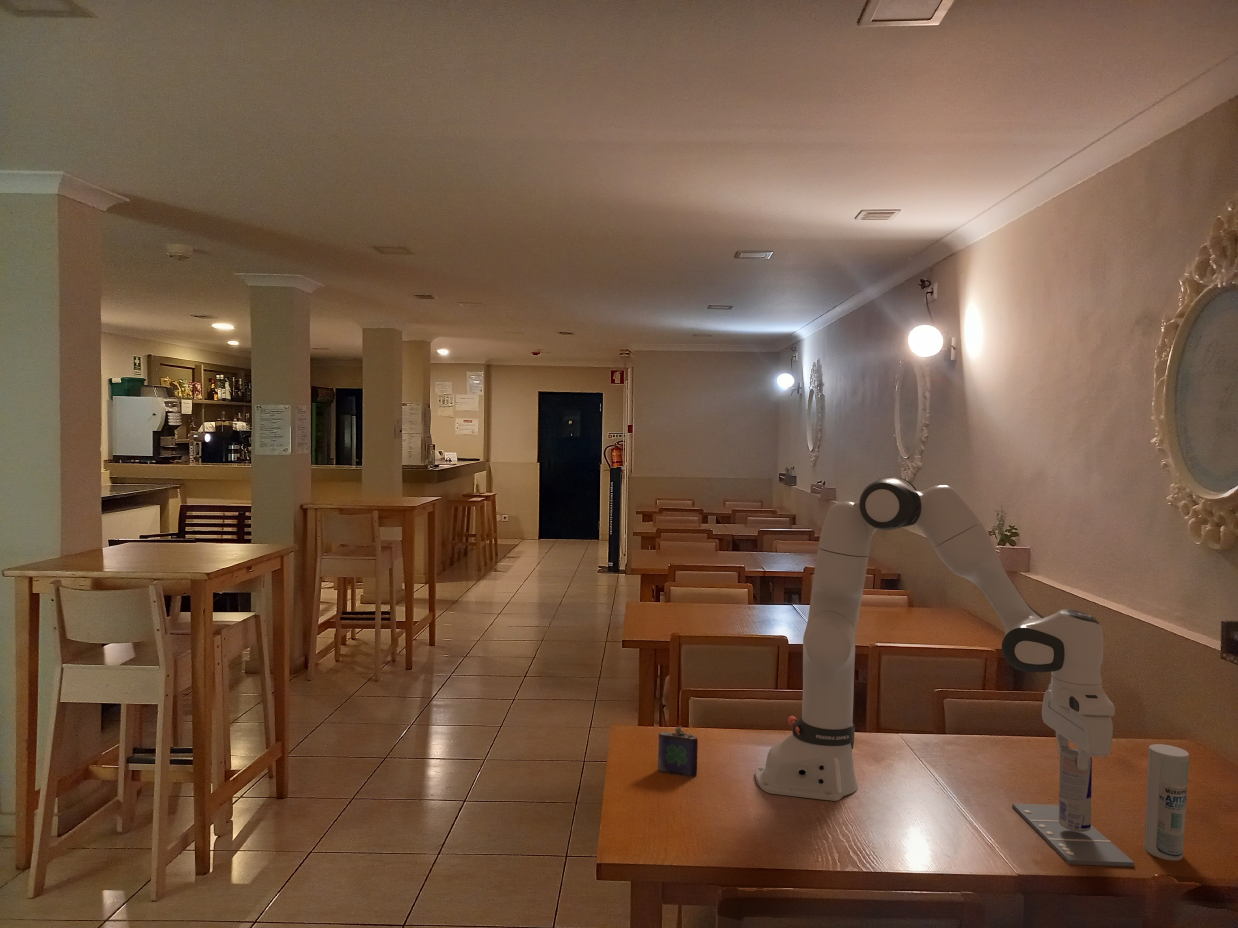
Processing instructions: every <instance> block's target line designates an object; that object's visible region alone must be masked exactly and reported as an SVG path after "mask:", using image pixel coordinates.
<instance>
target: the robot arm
mask: <svg viewBox="0 0 1238 928" xmlns="http://www.w3.org/2000/svg"><path fill="white" fill-rule="evenodd" d="M910 526H915V527H917V528H918V529H919V530H920V531H922V533H923V535H924V536H925V537H926V539H927V540H928V542H929V544H930V545H931V547H932V548H933V550H934V552H935V553H936V555H937V557H938V558H939V559H940V560H941V561H942V563H943V564H944V565H945V566H946V567H947V568H948V569H949V570H950V571H951V572H952V573H953V574H954V575H956V576H958V577H961V578H964V579H966V580H968V581H970V582H971V583H973V584H974V585H975V586H976V587H978V589H980V591H981V592H982V594H983V595H984V596H985V598H986V599H987V601H988V602H989V603H990V605H991V607H992V608H993V609H994V611H995V612H996V614H997V615H998V617H999V618H1000V621H1001V622H1002V624H1003V628H1004V636H1003V639H1002V642H1001V653H1002V655H1003V658H1004V659H1005V661H1006V662H1007V663H1008V664H1009V665H1010V666H1011V667H1013V668H1014V669H1016V670H1018V671H1020V672H1024V673H1051V681H1050V683H1049V684H1048V687H1047V688H1048V689H1047V690H1045V691H1044V694H1043V700H1042V701H1043V702H1042V708H1041V717H1042V722H1043V723H1044V724H1045V725H1046V726H1048V727H1049V728H1051V729H1052V730H1054V731H1055V738H1056V742H1057V745H1058V747H1057V748H1058V749H1057V752H1058V754H1059V755H1060V753H1061V752H1060V750H1061V749H1062V748H1071V747H1070V744H1069V743H1072V744H1073V745H1075V746H1076V748H1077V749H1078V752H1079V755H1078V758H1075V766H1076V767H1077V768H1079V769H1080V770H1086V769H1087V768H1088V761H1089V759H1090V757H1091V756H1092V757H1100V758H1102V757H1103V758H1104V757H1108V756H1109V754H1110V753H1111V751H1112V745H1113V733H1114V732H1113V720H1112V717H1113V716H1115V714H1116V706H1115V704H1114V703H1113V702H1112V700H1110V698H1109V697H1108V695H1107V694H1106V692H1105V690H1104V689H1103V688H1102V686H1103V679H1102V675H1101V667H1102V664H1103V661H1104V633H1103V628H1102V625H1101V623H1100V622H1099V621H1098V620H1097V619H1096V618H1095V617H1094V616H1092V615H1090V614H1088V613H1085V612H1083V611H1082V612H1081V611H1080V610H1074V609H1067V608H1065V609H1060V610H1058V611H1057V612H1056V613H1053V614H1051V615H1048V616H1043V615H1042V614H1040V613H1039V612H1038V611H1036V610H1035V609H1033V608H1032V607H1031V606H1030V605H1029V604H1028V602H1027V601H1026V600H1025V598H1024V597H1023V595H1022V594H1021V592H1020V591H1019V590H1018V588H1017V586H1016V585H1015V583H1014V582H1013V580H1012V579H1011V578H1010V576H1009V575H1008V573H1007V572H1006V570H1005V568H1004V566H1003V564H1002V560H1001V559H1000V556H999V554H998V551H997V549H996V546H995V544H994V542H993V540H992V538H991V535H990V534H989V532H988V531H987V529H986V527H985V526H984V524H983V522H982V521H981V519H980V518H979V516H978V515H977V513H976V512H975V511H974V510H973V508H972V506H970V505H969V503H968V502H967V501H966V499H964V498H963V497H962V495H961V494H959V492H958V491H957V490H956V489H955V488H954V487H952V486H951V485H946V484H940V485H939V484H938V485H934V486H931V487H929V488H926V489H925V490H921V491H919V490H917V488H916V487H915V486H914V485H913V484H912V483H911V482H910V481H909V480H906V479H904V478H901V477H894V476H893V477H892V476H887V477H882V478H879V479H877V480H875V481H873V482H871V483H870V484H868V485H867V486H866V487H865V488H864V490H863V491H862V492H861V494H860V497H859V501H847V500H846V501H839V502H836V503H834V504H832V505H831V506H830V507H829V508H828V510H827V513H826V515H825V517H824V521H823V525H822V529H821V531H820V535H819V540H818V545H817V546H818V547H817V552H816V553H817V554H816V560H815V566H814V572H813V579H812V587H811V594H810V602H809V610H808V616H807V621H806V622H807V623H806V627H805V629H804V633H803V637H802V702H801V703H802V704H801V705H802V707H801V709H802V710H801V717H800V718H798V719H797V718H796V716H794V715H790V716H789V717H788V718H787V722H788V724H789V726H790V727H791V728H792V732H791V733H792V734H790V735H788V736H787V737H785V738H784V739H782V740H781V741H779V742H777V743H776V744H775V745H773V746H771V748H770V749H769V750H768V753H767V756H766V761H765V764H762V765H759V766H758V767H757V768H756V769H755V776H754V777H755V778H754V779H755V781H756V783H757V785H758V786H759V788H761V789H762V790H763V791H764V792H766V793H768V794H771V795H780V796H788V797H797V798H798V797H799V798H806V799H807V798H808V799H815V800H823V801H833V802H836V801H837V802H838V801H839V800H840V799H842V798H843V797H844V796H849V795H851V794H852V793H854V792H856V791H857V789H858V787H859V786H858V782H857V779H856V773H855V768H854V767H855V766H854V758H853V757H854V756H853V750H854V744H855V731H856V730H855V724H854V722H853V716H854V715H853V712H854V711H853V710H854V692H855V691H854V689H855V688H854V685H855V661H856V639H857V629H858V623H859V617H860V613H861V612H860V611H861V606H862V599H863V595H864V589H865V582H866V577H867V575H866V574H867V570H868V564H869V563H868V562H869V557H870V550H871V544H872V539H873V538H874V537H873V536H874V535H875V532H876V531H877V530H881V531H892V530H896V529H901V528H905V527H910ZM1092 757H1091V758H1092Z"/></svg>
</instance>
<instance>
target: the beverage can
mask: <svg viewBox="0 0 1238 928" xmlns="http://www.w3.org/2000/svg"><path fill="white" fill-rule="evenodd" d="M1060 752H1061V753H1060V754H1059V783H1058V784H1059V786H1058V787H1059V792H1058V793H1059V794H1058V795H1059V799H1058V802H1059V803H1058V805H1059V823H1060V825H1061V826H1063V827H1064V828H1066V829H1069V830H1072V831H1077V832H1085V831H1089V830H1090V829H1091V825H1092V822H1091V821H1092V786H1093V785H1092V779H1093V777H1092V774H1093V771H1092V770H1093V758H1092V757H1093V756H1091V757H1090V759H1089V761H1088V768H1087V769H1086V770H1080V769H1079V768H1077V767H1076V766H1075V758H1078V755H1079V752H1078V748H1071V747H1070V748H1062V749H1061V750H1060Z"/></svg>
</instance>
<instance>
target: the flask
mask: <svg viewBox="0 0 1238 928" xmlns="http://www.w3.org/2000/svg"><path fill="white" fill-rule="evenodd" d="M682 728H683V726H682V725H680V726H676V728H674V731H675V732H672V731H661V732H659V733H658V754H657V772H660V773H662V774H669V775H672V776H673V775H674V776H680V777H685V778H686V777H687V778H696V777H697V774H698V743H699V742H698V737H697V736H696V735H693V734H691V733H689V734H688V733H687V732H685V731H684V730H681V729H682Z"/></svg>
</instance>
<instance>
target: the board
mask: <svg viewBox="0 0 1238 928" xmlns="http://www.w3.org/2000/svg"><path fill="white" fill-rule="evenodd" d="M1011 807H1012V808H1013V810H1014V811H1015V812H1016V813H1017V814H1018V815H1019V816H1020V817H1021V818H1022V819H1023V820H1024V821H1025V822H1026V823H1028V824H1029V826H1030V827H1031V828H1032V829H1033V830H1034V831H1036V833H1037V834H1038V835H1039V836H1040V837H1041V838H1042V839H1043V840H1044V841H1045V842H1046V843H1047V844H1048V846H1050V847H1051V848H1052V849H1053V850H1054V851H1055V852H1056V853H1057V854H1058V855H1059V856H1060V857H1061V858H1062V859H1063V860H1064V861H1065V862H1066V863H1067V864H1068V865H1080V866H1081V865H1082V866H1110V867H1131V868H1132V867H1133V868H1134V867H1135V861H1134V860H1132V859H1131V858H1130V857H1129V856H1128V855H1126V854H1125V853H1124V852H1123V851H1122V850H1121V849H1120V848H1119V847H1117V845H1116V844H1114V843H1113V842H1112V841H1111V840H1110V839H1108V838H1107V837H1106V836H1105V835H1104V834H1102V833H1101V831H1099V830H1098V829H1097V828H1095V827H1094V826H1093V825H1092V824H1091V829H1090V830H1089V831H1085V832H1077V831H1072V830H1069V829H1066V828H1064V827H1063V826H1061V825H1060V823H1059V804H1035V803H1033V804H1032V803H1012V805H1011Z"/></svg>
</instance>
